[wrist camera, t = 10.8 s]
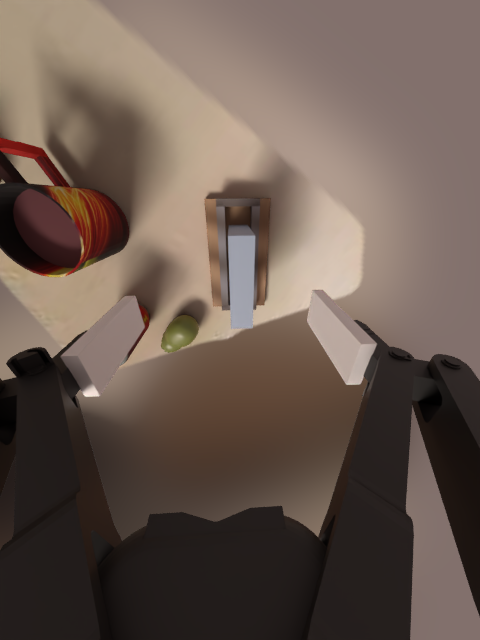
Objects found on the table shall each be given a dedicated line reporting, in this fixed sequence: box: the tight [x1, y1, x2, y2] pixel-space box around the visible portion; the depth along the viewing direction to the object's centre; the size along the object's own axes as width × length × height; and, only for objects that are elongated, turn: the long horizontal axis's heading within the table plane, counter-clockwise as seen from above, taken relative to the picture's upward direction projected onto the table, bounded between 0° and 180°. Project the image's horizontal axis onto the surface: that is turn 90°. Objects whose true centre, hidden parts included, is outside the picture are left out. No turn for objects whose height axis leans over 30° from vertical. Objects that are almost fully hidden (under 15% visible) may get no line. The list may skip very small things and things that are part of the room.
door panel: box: [228, 225, 255, 329], centre depth 31 cm, size 12×3×12 cm, turn 0°
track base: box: [205, 198, 271, 310], centre depth 35 cm, size 18×10×3 cm, turn 0°
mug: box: [0, 138, 129, 277], centre depth 27 cm, size 10×14×12 cm
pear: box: [161, 315, 199, 353], centre depth 42 cm, size 6×5×10 cm
